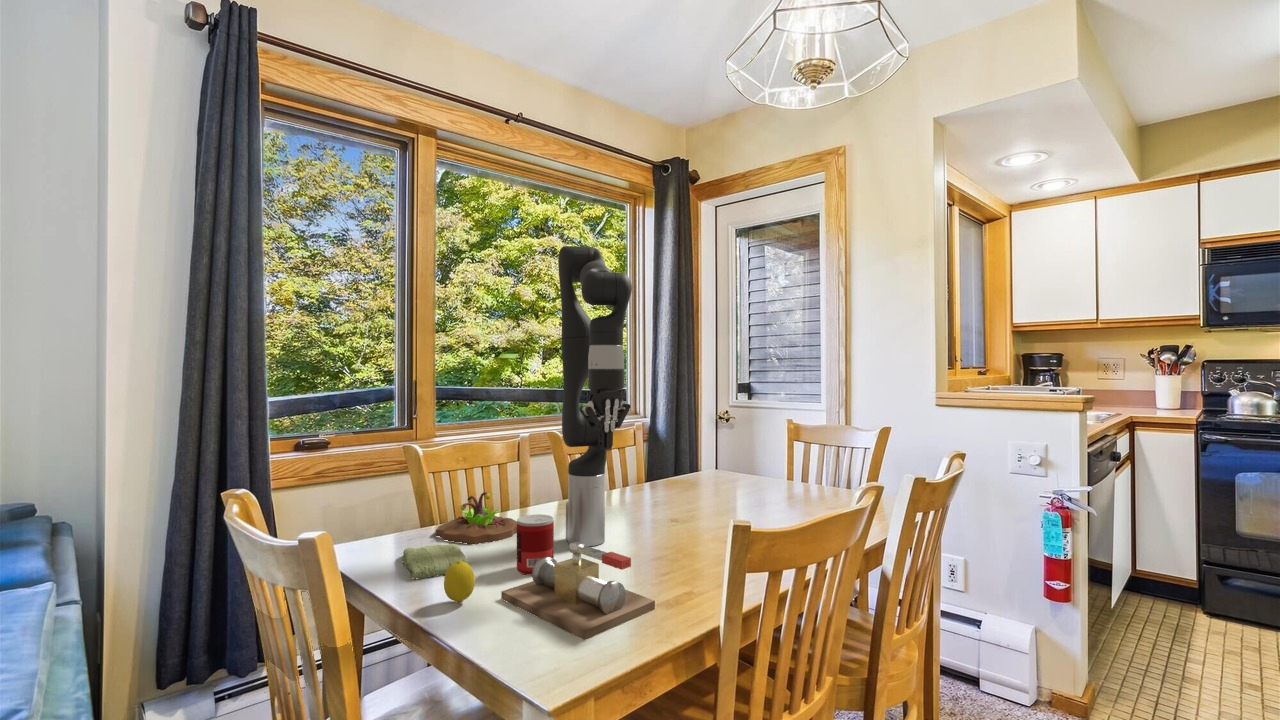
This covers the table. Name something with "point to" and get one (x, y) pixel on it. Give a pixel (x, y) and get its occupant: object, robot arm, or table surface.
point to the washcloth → (431, 559)
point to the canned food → (534, 540)
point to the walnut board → (574, 609)
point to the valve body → (579, 582)
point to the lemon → (459, 581)
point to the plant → (477, 525)
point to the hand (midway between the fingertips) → (605, 449)
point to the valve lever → (601, 555)
